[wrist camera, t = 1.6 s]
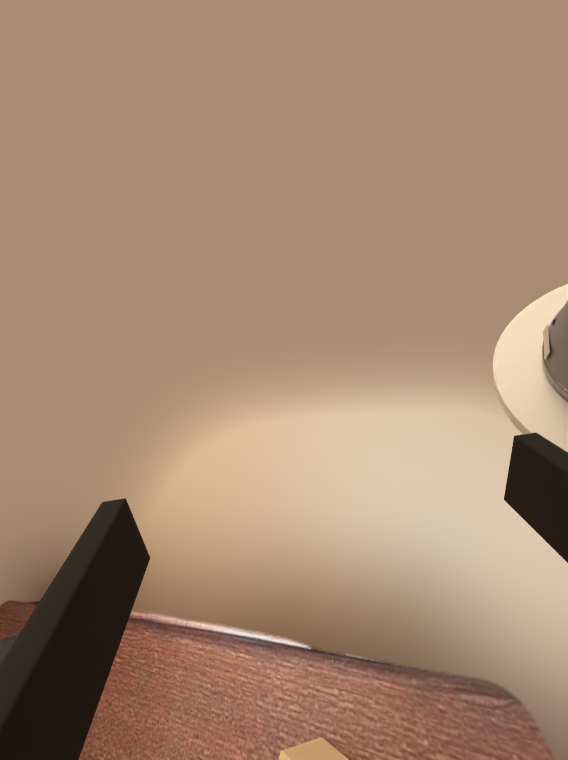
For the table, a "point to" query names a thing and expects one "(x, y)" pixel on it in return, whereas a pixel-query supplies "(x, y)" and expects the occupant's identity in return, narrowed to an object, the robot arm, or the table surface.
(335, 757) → the pad riser
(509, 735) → the table surface
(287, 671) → the table surface
